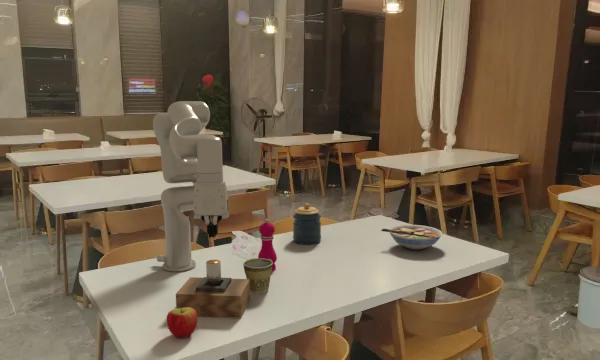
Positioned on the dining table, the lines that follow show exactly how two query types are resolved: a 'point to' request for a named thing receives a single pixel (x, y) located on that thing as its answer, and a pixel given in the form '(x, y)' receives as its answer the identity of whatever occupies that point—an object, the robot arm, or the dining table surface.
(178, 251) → the robot arm
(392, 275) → the dining table surface
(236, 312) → the socket block
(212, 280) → the peg
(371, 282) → the dining table surface
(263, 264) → the ceramic cup
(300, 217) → the canister
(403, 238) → the ramen bowl
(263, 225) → the pepper mill
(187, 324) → the apple
